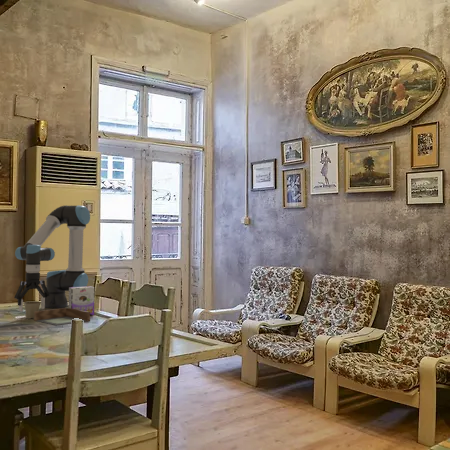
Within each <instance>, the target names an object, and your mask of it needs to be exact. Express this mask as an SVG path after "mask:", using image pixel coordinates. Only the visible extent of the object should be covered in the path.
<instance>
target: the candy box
mask: <svg viewBox="0 0 450 450" xmlns="http://www.w3.org/2000/svg"><path fill="white" fill-rule="evenodd" d="M95 289H96V288H95V287H94V286H91V285H90V286H88V285H87V286H86V287H69V291H68V308H72V309H77V310H82V311H88V312H90V316H94V315H95V293H96V292H95Z"/></svg>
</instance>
